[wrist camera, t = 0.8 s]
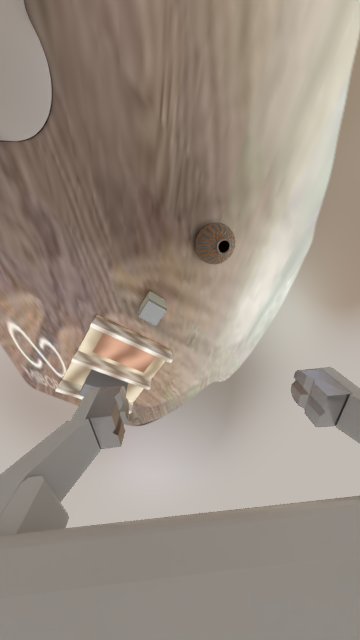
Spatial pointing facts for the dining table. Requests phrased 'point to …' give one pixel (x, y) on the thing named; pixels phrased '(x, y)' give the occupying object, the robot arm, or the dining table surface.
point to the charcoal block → (100, 382)
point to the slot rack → (115, 359)
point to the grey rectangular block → (152, 308)
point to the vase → (215, 243)
